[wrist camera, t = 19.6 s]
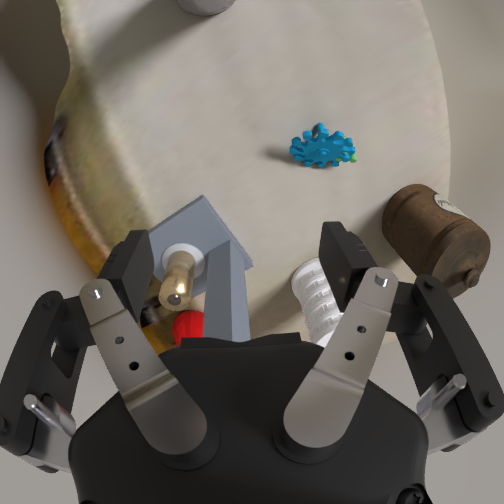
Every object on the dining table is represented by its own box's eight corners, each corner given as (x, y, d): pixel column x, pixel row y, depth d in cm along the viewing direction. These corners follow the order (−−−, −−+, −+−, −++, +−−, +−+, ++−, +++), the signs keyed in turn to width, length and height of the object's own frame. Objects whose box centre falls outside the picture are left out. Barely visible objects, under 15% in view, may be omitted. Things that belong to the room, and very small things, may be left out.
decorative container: (322, 246, 54) (353, 312, 39) (353, 276, 59) (385, 338, 44) (279, 283, 58) (295, 353, 43) (314, 307, 63) (334, 372, 48)
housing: (163, 258, 50) (151, 296, 41) (184, 245, 48) (175, 283, 40) (180, 276, 52) (172, 315, 44) (201, 265, 51) (196, 304, 42)
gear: (278, 161, 42) (310, 128, 33) (278, 131, 44) (308, 96, 34) (336, 177, 46) (374, 153, 37) (333, 149, 47) (368, 122, 38)
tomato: (186, 297, 58) (182, 326, 51) (226, 316, 62) (226, 346, 55) (167, 320, 62) (161, 348, 55) (204, 337, 66) (202, 365, 59)
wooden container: (445, 217, 52) (506, 276, 34) (399, 258, 57) (449, 329, 39) (422, 168, 45) (499, 223, 27) (369, 215, 51) (429, 289, 32)
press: (131, 242, 50) (63, 414, 21) (203, 194, 46) (169, 392, 17) (207, 320, 62) (203, 472, 33) (273, 288, 59) (304, 455, 29)
